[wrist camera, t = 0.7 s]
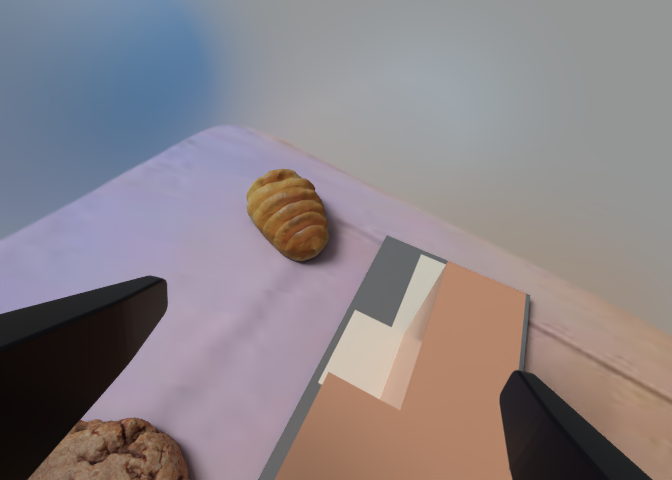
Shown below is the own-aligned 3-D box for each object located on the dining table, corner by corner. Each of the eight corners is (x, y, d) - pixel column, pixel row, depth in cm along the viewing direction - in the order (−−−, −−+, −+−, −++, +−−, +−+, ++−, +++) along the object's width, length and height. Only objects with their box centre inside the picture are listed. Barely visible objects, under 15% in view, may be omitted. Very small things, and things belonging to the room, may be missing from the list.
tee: (466, 620, 15) (613, 712, 8) (281, 496, 17) (271, 486, 10) (499, 379, 22) (590, 320, 15) (366, 315, 24) (394, 238, 18)
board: (486, 704, 14) (493, 711, 13) (235, 525, 17) (233, 525, 16) (526, 298, 27) (529, 295, 27) (385, 239, 30) (386, 235, 30)
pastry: (346, 250, 29) (351, 222, 26) (276, 277, 27) (274, 248, 24) (303, 188, 34) (303, 158, 31) (241, 205, 32) (235, 174, 29)
